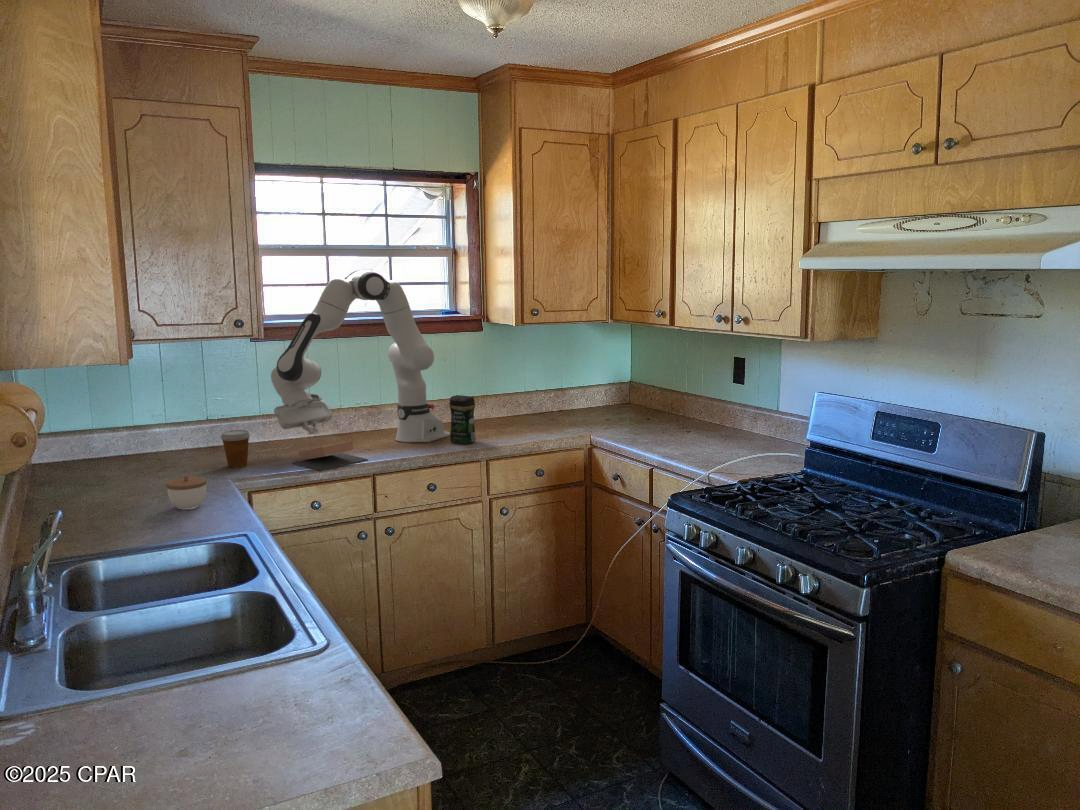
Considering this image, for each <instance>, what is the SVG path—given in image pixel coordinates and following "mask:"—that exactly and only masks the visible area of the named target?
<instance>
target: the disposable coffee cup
mask: <svg viewBox="0 0 1080 810" xmlns="http://www.w3.org/2000/svg"><path fill="white" fill-rule="evenodd" d="M250 436H251V434H250V432H249V430H246V429H233V430H232V429H231V430H225V431H222V433H221V436H220V438H221V440H222V443H223V448H224V454H225V457H226V463H227V467H228V468H230V467H240V468H243V467H242V466H245V467H247V466H248V458H249V457H248V456H249V439H250ZM246 465H247V466H246Z"/></svg>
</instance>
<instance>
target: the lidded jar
mask: <svg viewBox="0 0 1080 810" xmlns="http://www.w3.org/2000/svg"><path fill="white" fill-rule="evenodd" d="M165 487H166V491H167V493H166V494H167V496H168V499H169V502H170V503H171V504H172V506H174V507H175V508H176V509H177V508H181V509H183V508H192V507H196V506H199V505H200V506H201V505H202V503H203V502H204V500H205V499H206V495H207V479H206V478H205V477H202V476H201V477H200V476H188V475H183V477H179V478H174V479H170V480H169V481H167V482H166V483H165ZM200 506H199V507H200Z"/></svg>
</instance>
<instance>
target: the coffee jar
mask: <svg viewBox="0 0 1080 810" xmlns="http://www.w3.org/2000/svg"><path fill="white" fill-rule="evenodd" d="M448 404H449V409H450V419H451V420H450V432H449V433H450V436H449V439H450V440H449V441H450V442H451V443H453V444H457V443H458V445H468V444H469V443H471V444H474V443H475V442H476V429H475V414H474V413H475V407H476V402H475V398H474V396H470V395H469V396H468V395H463V394H462V395H460V394H459V395H458V394H457V395H453V396H451V397H450V399H449V403H448ZM473 442H474V443H473Z"/></svg>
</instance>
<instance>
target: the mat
mask: <svg viewBox="0 0 1080 810" xmlns="http://www.w3.org/2000/svg"><path fill="white" fill-rule="evenodd" d="M366 461H369V459H368V458H364V457H361V456H356V455H353V454H352V455H351V454H348V453H345V452H343V453H338V454H334V455H329V456H324V457H318V458H312V459H307V460H302V459H300V460H298V461H293V462H291V463H292V465H295V466H299V467H304V468H307V469H311V470H315V471H319V472H322V471H326V470H331V469H336V468H340V467H345V466H349V465H354V464H356V463H361V462H366Z"/></svg>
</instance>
